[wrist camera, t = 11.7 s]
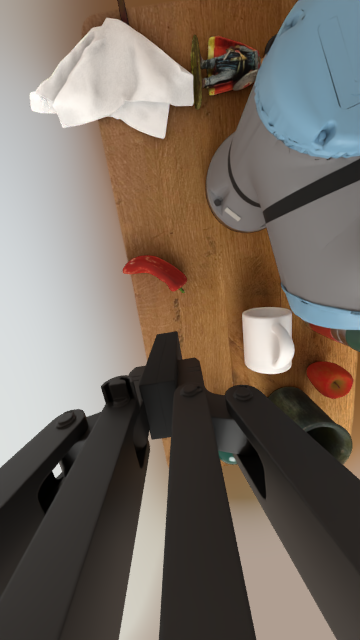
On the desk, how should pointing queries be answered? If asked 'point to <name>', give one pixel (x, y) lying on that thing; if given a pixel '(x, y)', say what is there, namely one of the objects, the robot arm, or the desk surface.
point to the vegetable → (157, 271)
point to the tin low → (325, 331)
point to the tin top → (350, 338)
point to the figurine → (223, 67)
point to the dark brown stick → (123, 11)
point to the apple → (330, 379)
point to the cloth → (115, 81)
